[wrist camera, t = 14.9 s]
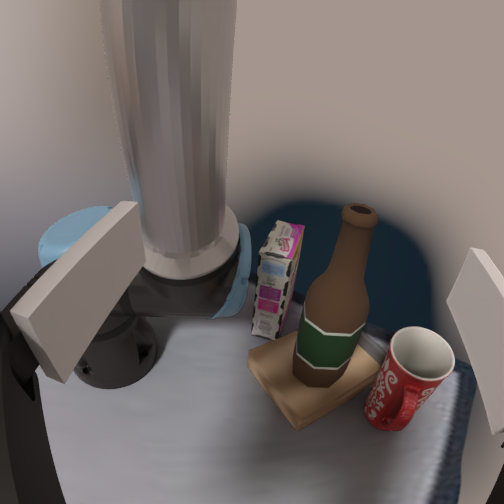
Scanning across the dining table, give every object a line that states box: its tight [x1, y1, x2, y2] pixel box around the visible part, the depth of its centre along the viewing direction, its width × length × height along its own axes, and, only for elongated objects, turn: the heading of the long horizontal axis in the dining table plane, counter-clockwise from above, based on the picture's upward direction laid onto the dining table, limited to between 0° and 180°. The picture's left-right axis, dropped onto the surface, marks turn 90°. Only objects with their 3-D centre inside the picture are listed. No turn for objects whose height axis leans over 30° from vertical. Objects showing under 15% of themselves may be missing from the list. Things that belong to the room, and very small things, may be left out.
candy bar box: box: [251, 220, 305, 340], centre depth 52 cm, size 11×5×16 cm, turn 163°
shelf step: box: [248, 330, 387, 431], centre depth 44 cm, size 13×16×6 cm
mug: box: [364, 327, 455, 431], centre depth 34 cm, size 13×9×14 cm
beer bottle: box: [293, 203, 378, 388], centre depth 35 cm, size 8×8×24 cm
